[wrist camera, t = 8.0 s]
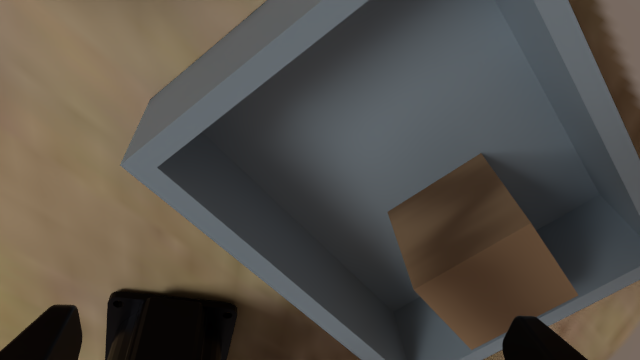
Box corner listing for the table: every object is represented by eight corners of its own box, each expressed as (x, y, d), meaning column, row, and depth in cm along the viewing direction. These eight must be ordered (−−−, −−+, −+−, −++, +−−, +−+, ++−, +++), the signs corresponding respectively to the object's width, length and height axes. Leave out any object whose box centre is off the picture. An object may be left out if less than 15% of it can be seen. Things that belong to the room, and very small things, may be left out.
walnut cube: (480, 152, 22) (530, 222, 18) (525, 220, 25) (578, 295, 20) (387, 212, 23) (413, 289, 19) (438, 269, 26) (471, 350, 22)
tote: (613, 189, 25) (683, 257, 21) (387, 317, 28) (407, 397, 24) (441, -148, 16) (502, -147, 12) (150, 99, 20) (120, 165, 16)
